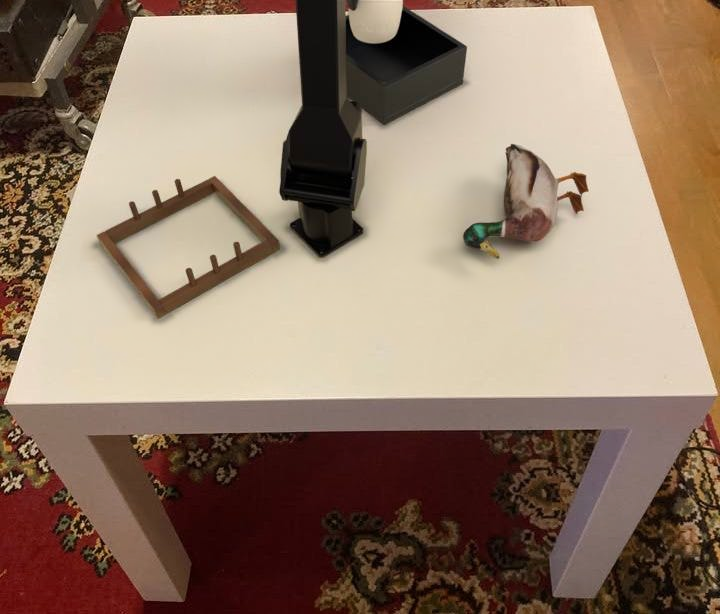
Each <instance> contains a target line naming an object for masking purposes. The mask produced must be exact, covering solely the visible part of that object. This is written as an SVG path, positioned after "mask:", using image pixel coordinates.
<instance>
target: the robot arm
mask: <svg viewBox="0 0 720 614" xmlns="http://www.w3.org/2000/svg"><path fill="white" fill-rule="evenodd" d="M357 3H358V0H295V10H296V11H295V15H296V30H297V47H298V61H299V62H298V63H299V76H300V77H299V80H300V94H301V106H300V107H299V109H298V111H297V113H296V115H295V117H294V119H293V120H292V124H291V125H290V127H289V129H288V132H287V135H286V139H285V140H283V142H282V150H281V162H280V172H279V173H280V175H279V176H280V183H279V190H278V193H279V196H280V198H281V200H282V201H284V202H285V201H286V202H287V201H291V202H297V206H298V215H299V217H298V218H296V219H295V220H292V221H291V222H290V223H289V228H290V230H291V231H292V232H293V233H294V234H295V235H296V236H297V237H298V238H299V239H300V240H301V241H302V242H303V243H304V244H305V245H306V246H307V247H309V248H310V249H311V250H312V252H313V253H315V255H316V256H317V257H319V258H323V257H326V256H327V255H329V254H331V253H333V252H334V251H336V250H338V249H339V248H341V247H343V246H344V245H346V244H348V243H349V242H351V241H353V240H355V239H356V238H358V237H359V236H361V235H363V234H364V228H363V227H362V226H361V225H360V224H359V223H358V222H357V221H356V220H355V219H354V218H353V212H356V211H357V209H358V204H359V201H360V198H361V195H362V192H363V189H364V186H365V180H366V179H365V177H366V165H367V153H368V151H367V150H368V141H367V139H366V138H363V121H362V118H363V117H362V116H363V108H361V106H360V104H359V102H355V101H352V100H351V99H350V98H348V97H347V94H346V16H347V14H346V5H347V7H348V8H349V9H351V10H352V11H355V10H356V7H357ZM348 8H347V9H348ZM349 9H348V10H349Z"/></svg>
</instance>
